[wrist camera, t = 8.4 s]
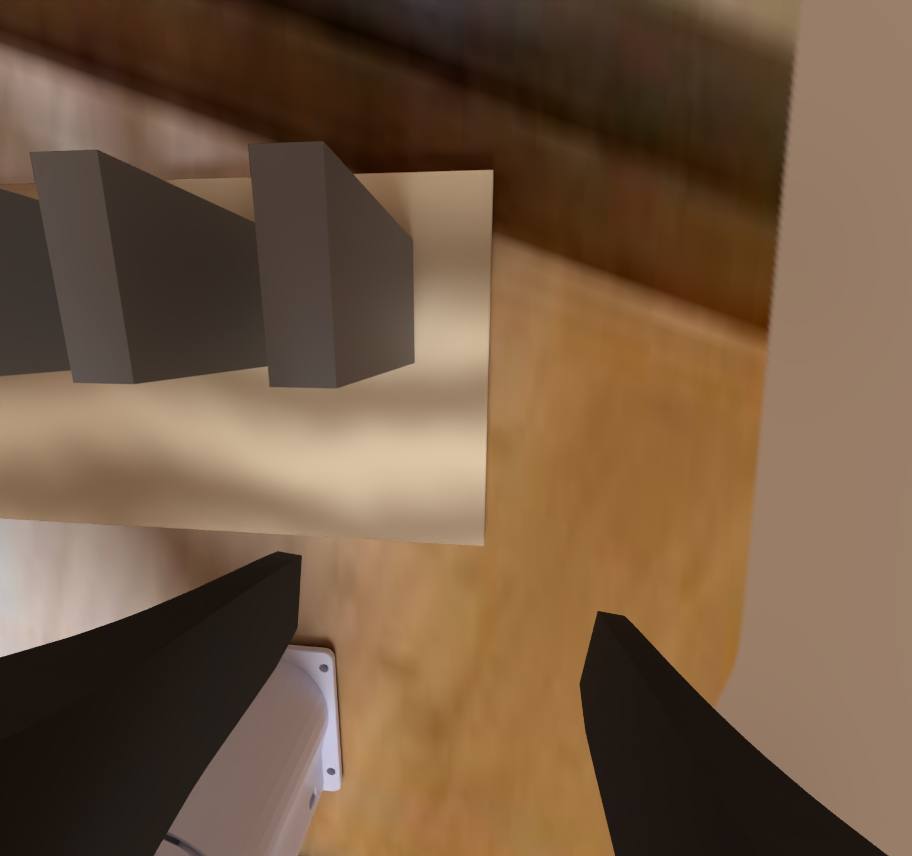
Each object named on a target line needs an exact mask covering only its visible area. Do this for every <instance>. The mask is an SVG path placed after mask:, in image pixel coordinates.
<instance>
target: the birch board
mask: <svg viewBox="0 0 912 856" xmlns="http://www.w3.org/2000/svg"><path fill="white" fill-rule="evenodd" d="M354 175H355V177H356V178H357V179H358V180H359V181H360V182H361V183H362V184H363V185H364V186H365V188H366V189H367V190H368V191H369V192H370V193H371V194H372V195H373V196H374V197H375V199H376V200H377V201H378V202H379V203H380V204H381V205H382V206H383V207H384V208H385V210H386V211H387V212H388V213H389V214H390V215H391V216H392V217H393V218H394V219H395V221H396V222H397V223H398V224H399V225H400V226H401V227H402V228H403V229H404V230H405V232H406V233H407V234H408V235H409V236H410V237H411V238H412V239H413V273H414V350H415V363H413V364H410V365H407V366H404V367H401V368H398V369H395V370H392V371H389V372H386V373H383V374H380V375H377V376H374V377H371V378H367V379H364V380H361V381H358V382H355V383H352V384H349V385H346V386H343V387H340V388H337V389H332V388H286V387H269V375H268V366H267V367H259V368H252V369H244V370H237V371H229V372H222V373H214V374H207V375H199V376H192V377H184V378H177V379H170V380H162V381H155V382H147V383H140V384H99V383H73V379H72V373H71V370H70V371H58V372H46V373H33V374H21V375H9V376H0V518H4V519H22V520H39V521H57V522H74V523H92V524H109V525H127V526H144V527H162V528H179V529H197V530H214V531H232V532H249V533H267V534H284V535H302V536H319V537H337V538H354V539H372V540H389V541H407V542H424V543H442V544H459V545H477V546H484V537H485V499H486V459H487V419H488V379H489V339H490V298H491V258H492V218H493V170H471V171H437V172H404V173H370V174H354ZM164 181H166V182H168V183H170V184H172V185H175V186H177V187H179V188H181V189H183V190H185V191H188V192H190V193H192V194H194V195H196V196H198V197H201V198H203V199H205V200H207V201H209V202H211V203H214V204H216V205H218V206H220V207H222V208H225V209H227V210H229V211H231V212H233V213H235V214H238V215H240V216H242V217H244V218H246V219H248V220H251V221H253V222H255V217H254V206H253V194H252V183H251V177H237V178H203V179H170V180H164ZM0 189H3V190H7V191H10V192H13V193H17V194H20V195H24V196H27V197H30V198H34V199H37V200H39V199H38V194H37V189H36V184H3V185H0Z"/></svg>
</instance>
